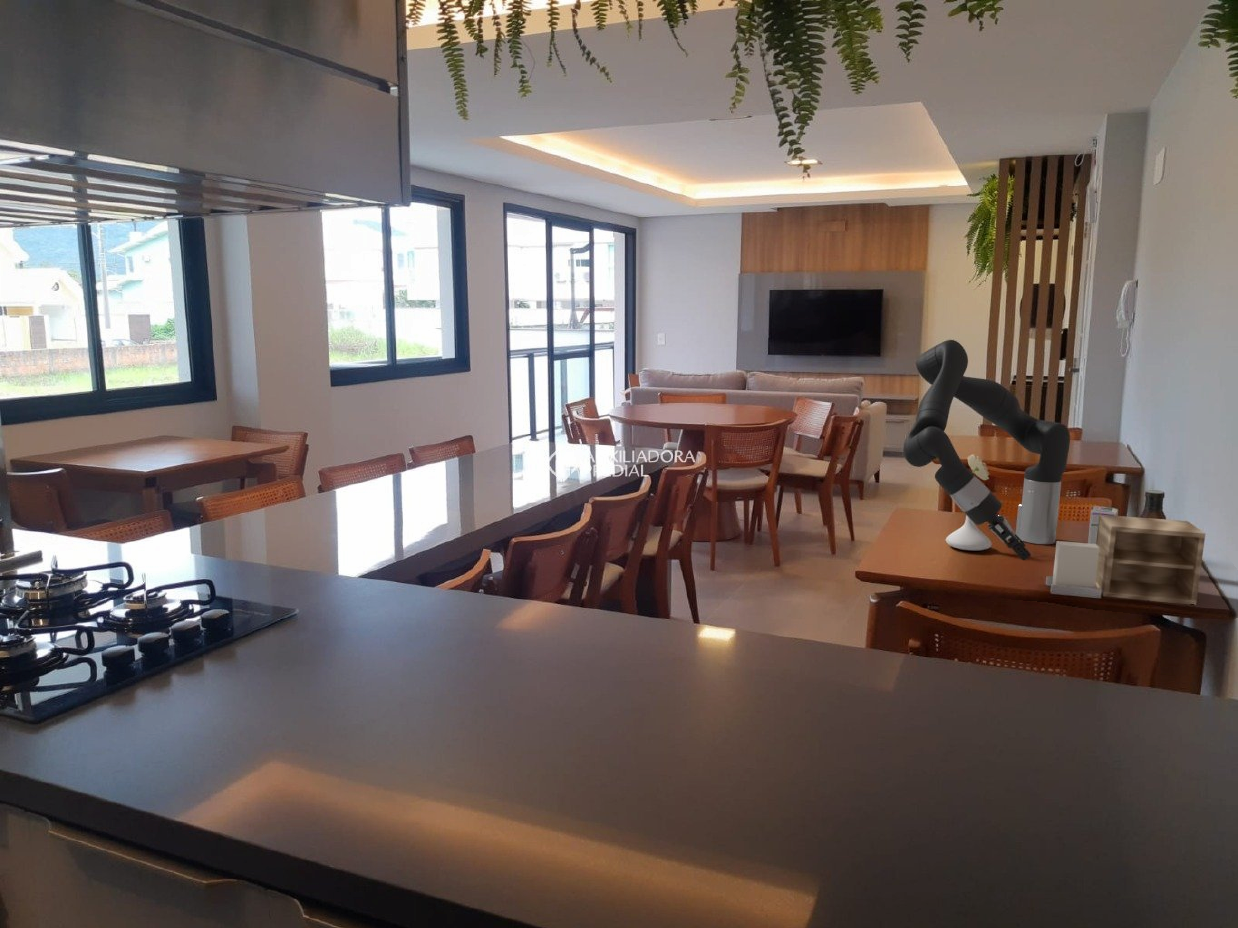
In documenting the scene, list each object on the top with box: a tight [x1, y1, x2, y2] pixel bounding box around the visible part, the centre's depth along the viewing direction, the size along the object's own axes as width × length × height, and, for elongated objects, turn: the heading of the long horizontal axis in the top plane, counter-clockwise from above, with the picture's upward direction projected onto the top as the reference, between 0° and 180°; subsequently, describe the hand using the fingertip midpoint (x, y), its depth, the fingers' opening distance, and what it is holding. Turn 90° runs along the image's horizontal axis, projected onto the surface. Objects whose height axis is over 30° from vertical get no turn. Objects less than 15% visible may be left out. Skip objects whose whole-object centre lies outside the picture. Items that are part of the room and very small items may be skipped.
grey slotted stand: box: [1045, 575, 1102, 599], centre depth 199 cm, size 10×7×2 cm
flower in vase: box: [945, 453, 993, 552], centre depth 233 cm, size 13×11×25 cm
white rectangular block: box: [1052, 540, 1099, 588], centre depth 198 cm, size 8×4×11 cm, turn 74°
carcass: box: [1095, 515, 1206, 606], centre depth 198 cm, size 18×12×16 cm, turn 73°
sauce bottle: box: [1139, 489, 1167, 520], centre depth 215 cm, size 7×6×20 cm
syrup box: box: [1087, 505, 1119, 544], centre depth 219 cm, size 6×6×14 cm
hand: (1024, 552), depth 201 cm, fingers open, 8 cm apart
